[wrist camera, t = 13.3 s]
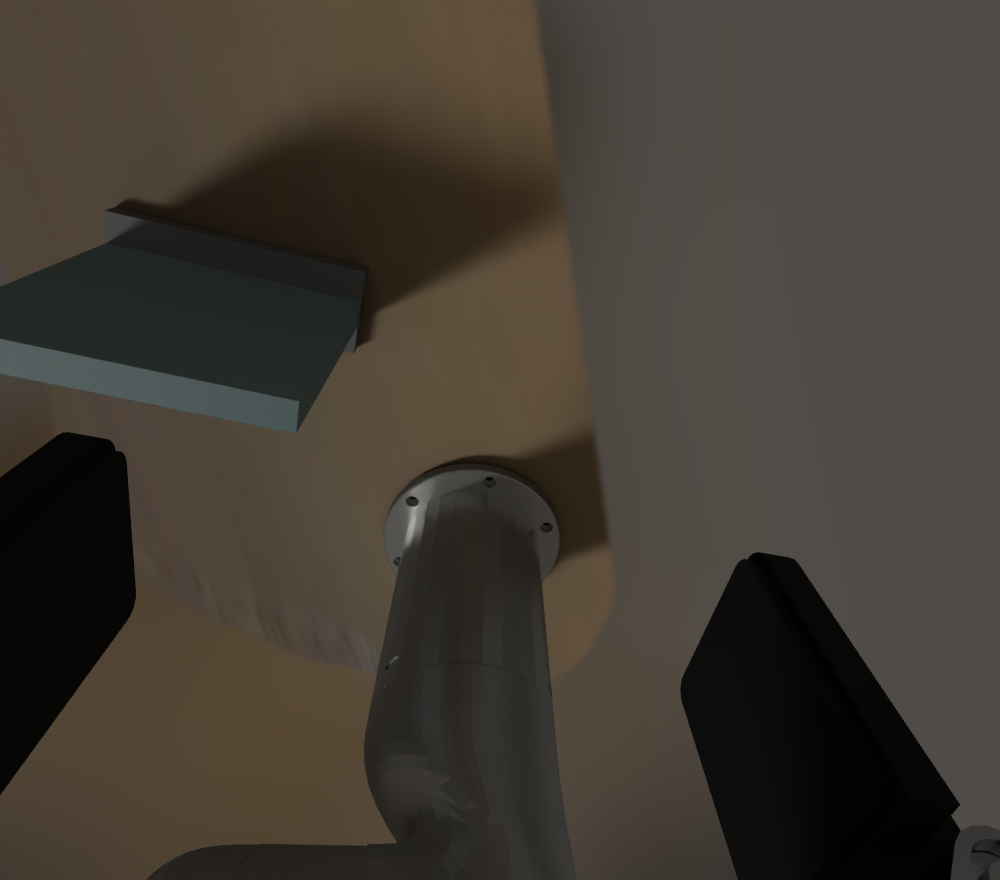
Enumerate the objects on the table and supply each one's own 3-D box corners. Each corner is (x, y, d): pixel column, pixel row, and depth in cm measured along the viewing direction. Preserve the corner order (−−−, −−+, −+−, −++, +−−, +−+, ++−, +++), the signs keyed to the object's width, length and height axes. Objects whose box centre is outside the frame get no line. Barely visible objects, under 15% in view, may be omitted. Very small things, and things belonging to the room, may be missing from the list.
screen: (357, 347, 39) (292, 468, 26) (119, 294, 37) (-67, 398, 25) (368, 267, 36) (302, 361, 24) (114, 207, 35) (-94, 275, 22)
